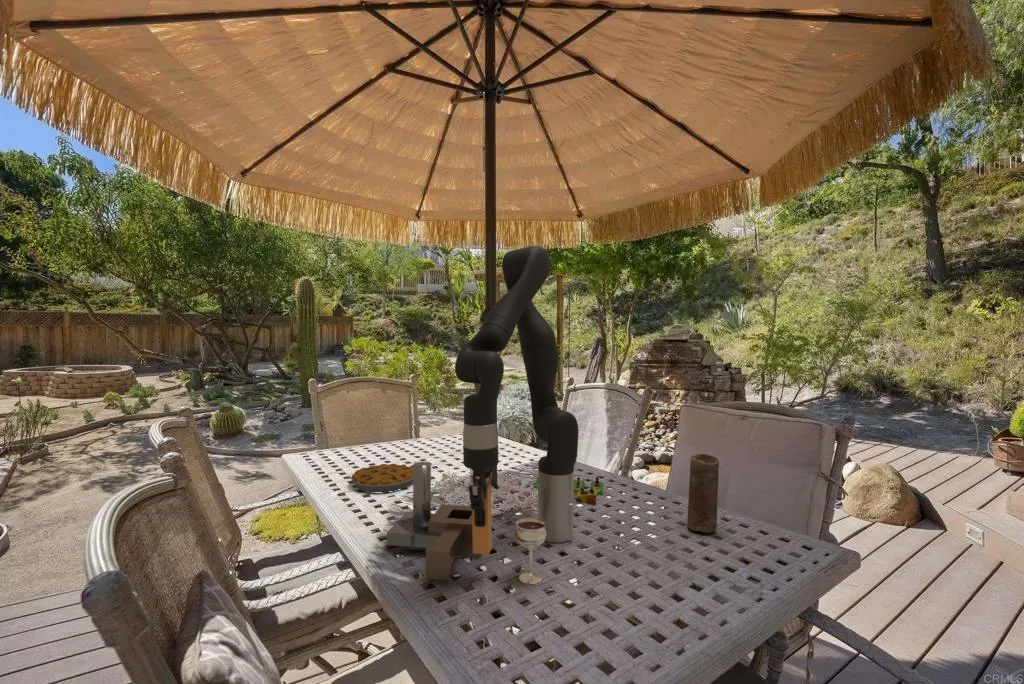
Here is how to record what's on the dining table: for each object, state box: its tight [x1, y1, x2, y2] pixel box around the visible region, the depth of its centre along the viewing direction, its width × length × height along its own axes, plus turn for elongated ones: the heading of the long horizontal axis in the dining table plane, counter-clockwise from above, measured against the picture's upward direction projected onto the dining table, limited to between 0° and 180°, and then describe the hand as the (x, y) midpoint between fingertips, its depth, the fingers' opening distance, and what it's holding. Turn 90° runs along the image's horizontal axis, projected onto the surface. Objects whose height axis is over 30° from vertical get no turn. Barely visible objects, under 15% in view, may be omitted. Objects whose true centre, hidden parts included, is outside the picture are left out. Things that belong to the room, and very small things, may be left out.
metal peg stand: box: [386, 461, 440, 551], centre depth 120 cm, size 14×14×20 cm
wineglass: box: [515, 516, 546, 585], centre depth 104 cm, size 7×7×12 cm
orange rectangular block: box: [472, 484, 493, 555], centre depth 103 cm, size 4×4×14 cm
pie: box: [350, 463, 413, 493], centre depth 165 cm, size 22×22×5 cm
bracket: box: [425, 504, 484, 581], centre depth 112 cm, size 13×24×8 cm, turn 171°
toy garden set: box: [533, 476, 604, 506], centre depth 158 cm, size 23×19×5 cm
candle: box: [686, 453, 720, 534], centre depth 129 cm, size 8×7×20 cm
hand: (482, 521), depth 103 cm, fingers closed on orange rectangular block, 3 cm apart
